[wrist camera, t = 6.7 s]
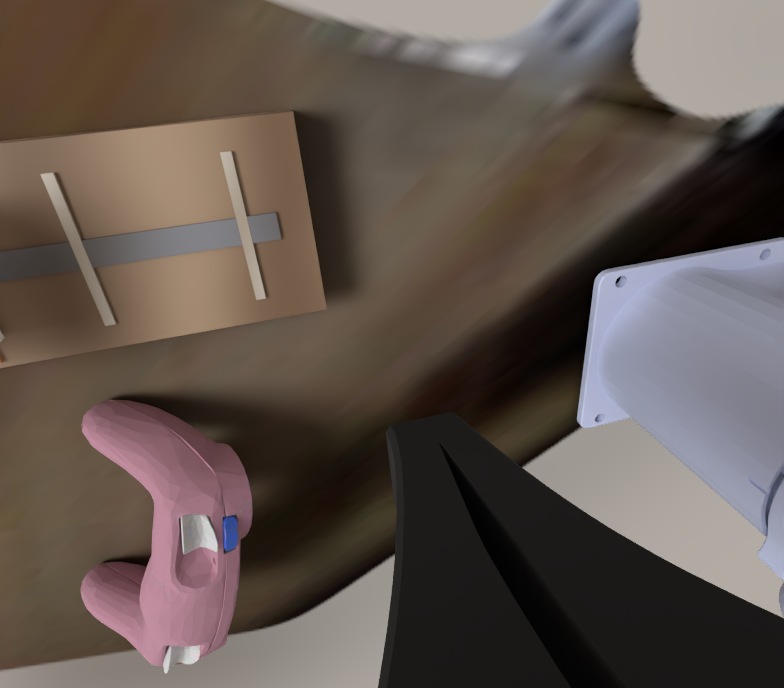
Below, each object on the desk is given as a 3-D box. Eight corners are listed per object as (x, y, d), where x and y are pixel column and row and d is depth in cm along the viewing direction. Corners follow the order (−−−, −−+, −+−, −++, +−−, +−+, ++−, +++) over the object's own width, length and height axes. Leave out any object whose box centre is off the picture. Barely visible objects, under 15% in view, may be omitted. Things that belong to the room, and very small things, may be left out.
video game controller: (185, 546, 23) (249, 674, 19) (74, 587, 20) (121, 751, 16) (207, 373, 19) (293, 484, 15) (74, 390, 16) (135, 537, 12)
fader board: (290, 109, 14) (293, 111, 13) (321, 293, 17) (327, 310, 16) (-219, 165, 12) (-280, 174, 11) (-85, 363, 15) (-119, 391, 14)
